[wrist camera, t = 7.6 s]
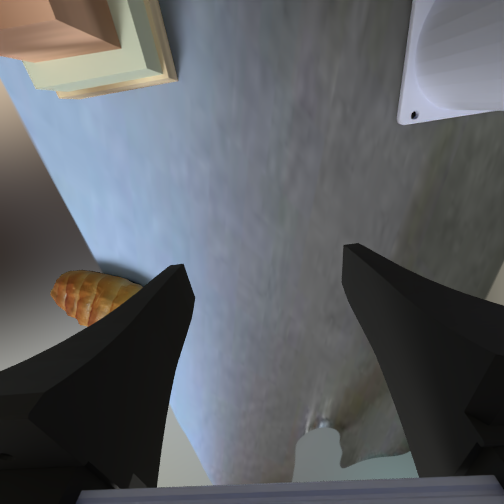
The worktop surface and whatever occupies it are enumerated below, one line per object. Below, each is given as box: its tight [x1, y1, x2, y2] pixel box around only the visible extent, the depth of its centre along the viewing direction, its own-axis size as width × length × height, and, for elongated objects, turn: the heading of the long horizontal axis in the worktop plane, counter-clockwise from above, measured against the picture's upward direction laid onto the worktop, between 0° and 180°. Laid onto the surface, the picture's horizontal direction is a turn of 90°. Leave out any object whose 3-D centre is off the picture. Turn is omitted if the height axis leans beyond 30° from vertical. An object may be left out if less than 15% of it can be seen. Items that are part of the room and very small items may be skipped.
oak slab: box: [56, 0, 178, 99], centre depth 14 cm, size 7×7×2 cm
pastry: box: [51, 270, 143, 327], centre depth 24 cm, size 9×7×4 cm
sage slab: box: [22, 0, 163, 92], centre depth 12 cm, size 6×6×2 cm
